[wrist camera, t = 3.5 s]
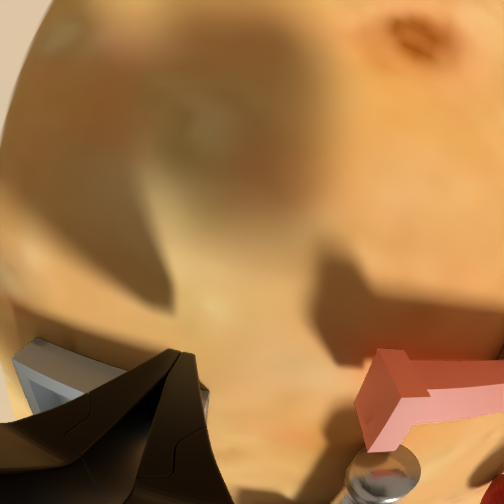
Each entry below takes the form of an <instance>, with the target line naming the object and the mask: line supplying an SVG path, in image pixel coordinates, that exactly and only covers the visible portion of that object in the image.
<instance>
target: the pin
mask: <svg viewBox="0 0 504 504" xmlns="http://www.w3.org/2000/svg"><path fill="white" fill-rule="evenodd" d="M420 474H421V468H420V464H419V461H418V459H417V458H416V456H415V455H414V454H413V453H412V452H411V451H410V450H409V449H407V448H406V447H404V446H402V445H399V446H398V448H397V449H396V450H395V451H387V452H369V453H367V450H366V446H364V447H363V448H361V449H360V450H359V452H358V453H357V455H356V456H355V458H354V459H353V461H352V462H351V463H350V465H349V466H348V468H347V470H346V472H345V478H344V479H345V485H344V487H343V488H342V489H341V490H340V492H339V493H338V494H337V495H336V496H335V498H334V499H333V500H332V501H331V502H330V504H396V503H398V502H399V501H400V500H401V499H403V498H404V497H405V496H406V495H407V494H408V493H409V492H410V491H411V490H412V489H413V488H414V487H415V486H416V484H417V483H418V481H419V479H420Z"/></svg>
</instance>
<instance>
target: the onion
mask: <svg viewBox="0 0 504 504" xmlns="http://www.w3.org/2000/svg"><path fill="white" fill-rule="evenodd" d="M480 504H504V474H500V475H498V476H496V477H495V478H494V479H493V480H492V482H491V484H490V486H489V487H488V489H487V491H486V492H485V494H484V496H483V498H482V500H481V503H480Z"/></svg>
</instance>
